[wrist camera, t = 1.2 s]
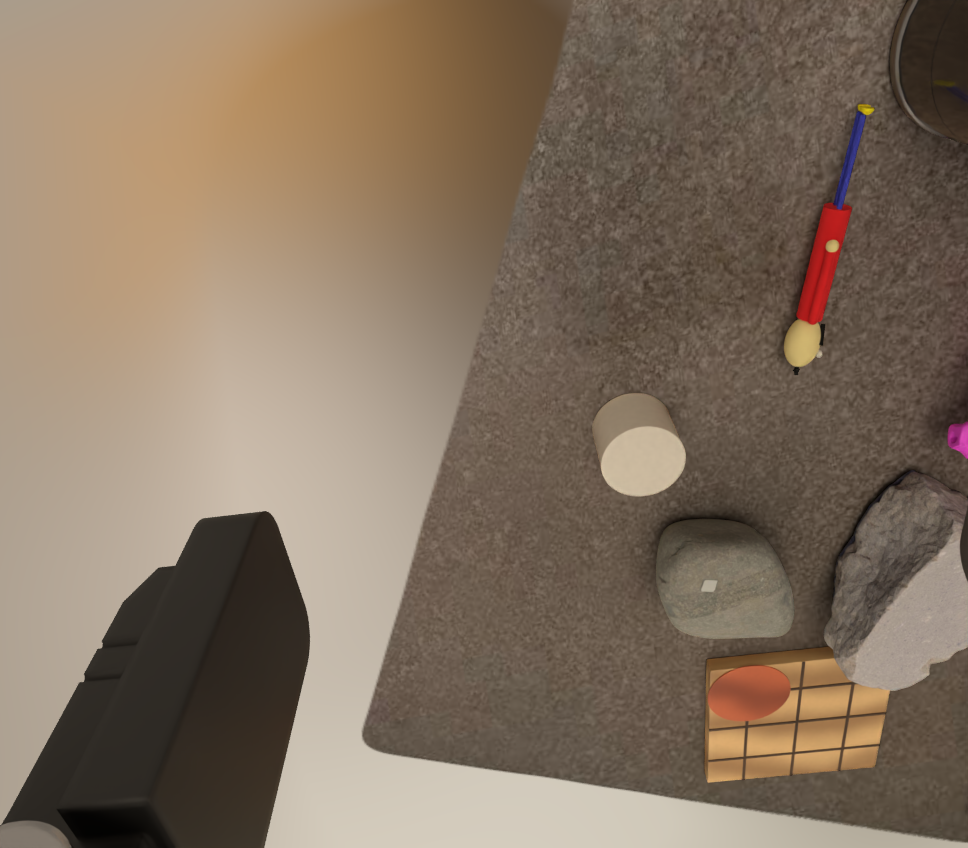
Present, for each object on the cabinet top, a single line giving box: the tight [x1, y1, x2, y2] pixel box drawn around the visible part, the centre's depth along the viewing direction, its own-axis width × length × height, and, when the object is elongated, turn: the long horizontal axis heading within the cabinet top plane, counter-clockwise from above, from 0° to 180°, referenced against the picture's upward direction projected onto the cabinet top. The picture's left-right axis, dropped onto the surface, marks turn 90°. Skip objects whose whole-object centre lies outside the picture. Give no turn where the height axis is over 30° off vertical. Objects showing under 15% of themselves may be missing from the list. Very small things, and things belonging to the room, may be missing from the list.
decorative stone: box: [824, 470, 968, 690], centre depth 52 cm, size 15×7×10 cm
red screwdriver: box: [784, 104, 875, 375], centre depth 42 cm, size 3×2×15 cm
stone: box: [656, 519, 794, 639], centre depth 53 cm, size 9×9×10 cm
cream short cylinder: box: [592, 393, 686, 496], centre depth 48 cm, size 5×5×4 cm
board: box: [704, 647, 890, 782], centre depth 63 cm, size 14×14×1 cm
